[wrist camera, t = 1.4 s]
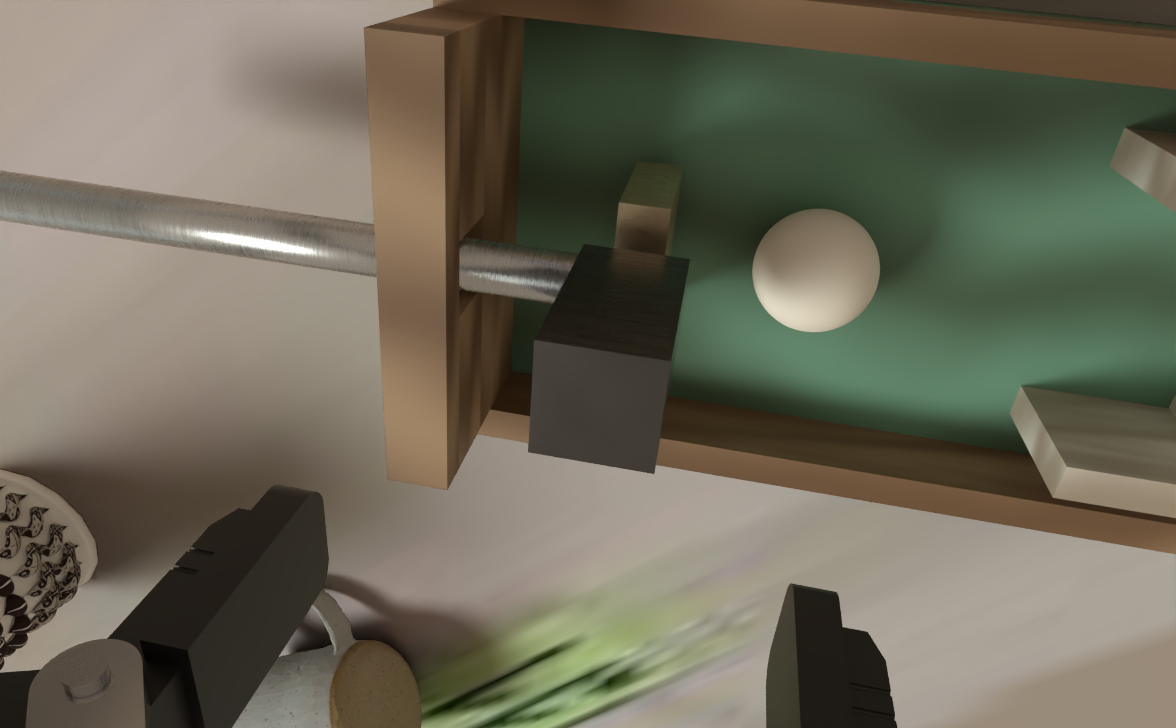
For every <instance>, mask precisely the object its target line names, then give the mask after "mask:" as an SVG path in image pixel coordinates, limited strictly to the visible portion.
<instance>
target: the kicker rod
mask: <svg viewBox="0 0 1176 728" xmlns="http://www.w3.org/2000/svg"><path fill="white" fill-rule="evenodd" d="M682 173H683V166H679V165H671V164H664V163H656V162H648V161H640V160H639V161H638V163H637V165H636V167H635V169H634V171H633V173H632V175H631V178H630V180H629V182H628V184H627V186H626V188H625V190H624V192H623V195H622V197H621V199H620V201H619V206H618V215H617V225H616V235H615V245H614V248H610V247H603V246H596V245H588V244H584V245H583V247H582V249H581V250H580V252H579V253H572V252H565V251H558V250H551V249H544V248H537V247H530V246H523V245H516V244H509V243H502V242H495V241H488V240H481V239H474V238H467V237H463V238H462V239H461V240H460V242H459V290H464V291H470V292H477V293H484V294H490V295H497V296H504V297H510V298H517V299H523V300H530V301H537V302H543V303H550V304H553V305H552V307H551V308H550V310H549V312H548V314H547V316H546V318H545V320H544V322H543V324H542V326H541V328H540V330H539V332H538V334H537V335H536V337H535V339H534V353H533V371H532V390H531V408H530V427H529V445H528V452H531V453H537V454H542V455H548V456H554V457H560V458H565V459H571V460H577V461H583V462H588V463H594V464H600V465H606V466H612V467H617V468H623V469H629V470H635V471H640V472H646V473H652V474H654V472H655V467H656V461H657V456H658V450H659V444H660V439H661V433H662V428H663V422H664V416H665V411H666V405H667V400H668V394H669V388H670V383H671V377H672V372H673V366H674V360H675V355H676V349H677V342H678V336H679V329H680V322H681V316H682V309H683V303H684V296H685V290H686V283H687V277H688V270H689V264H690V259H687V258H680V257H673V256H671V251H672V244H673V237H674V230H675V223H676V215H677V208H678V201H679V194H680V187H681V180H682ZM0 220H1V221H7V222H14V223H21V224H27V225H34V226H41V227H47V228H54V229H60V230H67V231H74V232H80V233H87V234H93V235H100V236H107V237H113V238H120V239H127V240H133V241H140V242H146V243H153V244H160V245H166V246H173V247H179V248H186V249H193V250H199V251H206V252H213V253H219V254H226V255H232V256H239V257H246V258H252V259H259V260H265V261H272V262H279V263H285V264H292V265H298V266H305V267H312V268H318V269H325V270H332V271H338V272H345V273H351V274H358V275H365V276H371V277H377V268H376V249H375V229H374V224H370V223H363V222H356V221H349V220H342V219H335V218H328V217H321V216H314V215H307V214H300V213H293V212H286V211H279V210H272V209H265V208H258V207H251V206H244V205H237V204H230V203H223V202H216V201H209V200H202V199H195V198H188V197H181V196H174V195H167V194H160V193H153V192H146V191H139V190H132V189H125V188H119V187H112V186H105V185H98V184H91V183H84V182H77V181H70V180H63V179H56V178H49V177H42V176H35V175H28V174H21V173H14V172H7V171H0Z"/></svg>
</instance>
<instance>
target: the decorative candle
mask: <svg viewBox="0 0 1176 728" xmlns="http://www.w3.org/2000/svg"><path fill="white" fill-rule="evenodd" d="M97 564H98V556H97V549H96V542H95V539H94V537H93V536H92V534H91V532H90V530H89V529H88V527H87V525H86V524H85V522H84V520H83V518H82V517H81V516H80V515H79V514H78V513H77V512H76V511H75V510H74V509H73V508H72V507H71V506H70V505H69V504H68V503H67V502H66V501H65V500H64V499H63V498H62V497H61V496H60V495H59V494H57V493H56V492H54V491H52V490H51V489H49V488H47V487H45V486H44V485H42V484H40V483H39V482H37V481H35V480H34V479H32V478H30V477H27V476H23V475H20V474H16V473H13V472H9V471H6V470H2V469H0V670H1V669H2V667H3V665H4V658H3V657H6V656H10V655H12V654H13V653H14V652H15V651H16V649H19V648H22V647H23V646H24V645H25V644H26V643H27V640H28V636H27V634H26V633H30V632H33V631H35V630H37V629H39V628H40V627H41V626H42V625H45V624H47V623H48V622H49V621H50V620H52V618H53V617H54V616H55V614H56V611H57V609H58V608H59V607H61V606H62V605H63V604H64V603H67V602H68V601H70V600H71V599H72V598H73V597H74V596H75V594H76V592H77V588H78V586H80V585H82V584H84V583H86V582H87V581H88V580H89V579H90V578H91V577H92V574H93V572H94V570H95V568H96V566H97Z"/></svg>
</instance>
